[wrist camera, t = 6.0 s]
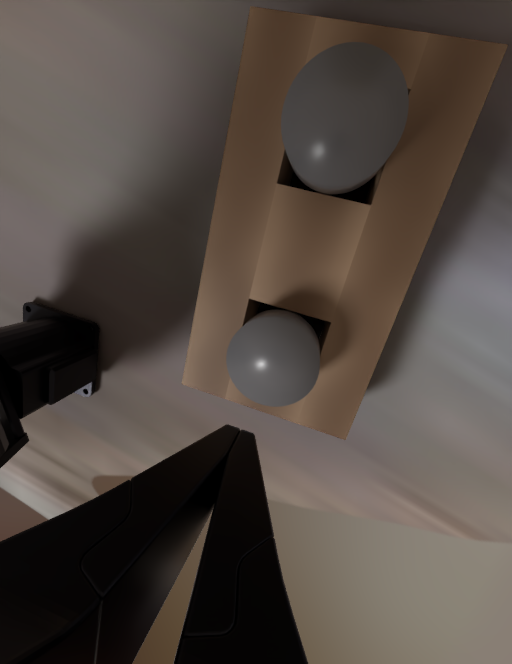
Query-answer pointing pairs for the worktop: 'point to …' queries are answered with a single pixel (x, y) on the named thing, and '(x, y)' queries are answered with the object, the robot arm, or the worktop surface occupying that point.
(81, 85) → the worktop surface
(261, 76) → the mount
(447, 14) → the worktop surface
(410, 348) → the worktop surface
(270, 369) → the knob
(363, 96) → the knob
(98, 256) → the worktop surface
